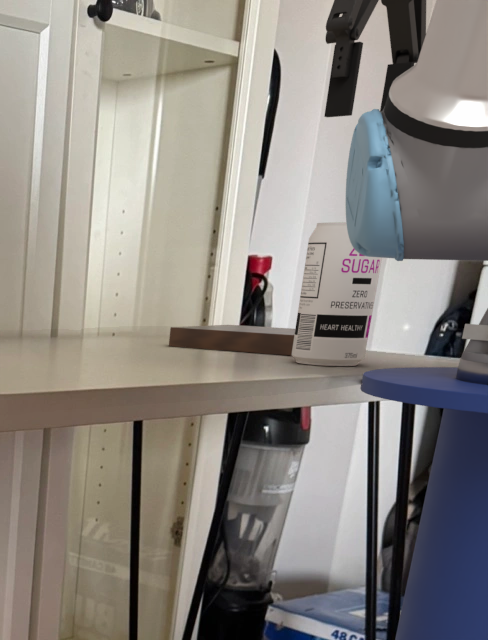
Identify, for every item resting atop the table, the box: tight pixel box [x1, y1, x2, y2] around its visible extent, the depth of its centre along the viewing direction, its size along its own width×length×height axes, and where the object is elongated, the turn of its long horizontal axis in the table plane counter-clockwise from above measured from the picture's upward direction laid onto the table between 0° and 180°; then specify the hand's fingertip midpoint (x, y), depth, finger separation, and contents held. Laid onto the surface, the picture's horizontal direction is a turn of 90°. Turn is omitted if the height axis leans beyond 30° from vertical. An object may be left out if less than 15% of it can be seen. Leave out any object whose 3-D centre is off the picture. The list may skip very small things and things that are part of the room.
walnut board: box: [168, 324, 295, 357], centre depth 143 cm, size 20×16×2 cm
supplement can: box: [291, 221, 383, 367], centre depth 119 cm, size 8×8×15 cm
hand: (364, 123), depth 113 cm, fingers open, 13 cm apart
